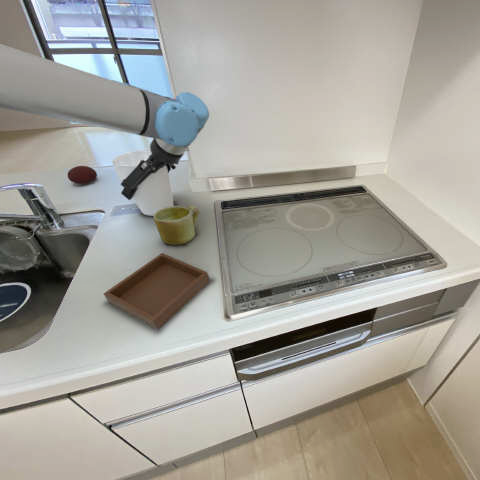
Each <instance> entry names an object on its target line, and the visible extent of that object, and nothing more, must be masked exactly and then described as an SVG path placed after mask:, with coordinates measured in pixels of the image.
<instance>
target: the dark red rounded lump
mask: <svg viewBox="0 0 480 480" xmlns="http://www.w3.org/2000/svg"><path fill="white" fill-rule="evenodd" d="M97 177H98V173H97V171H96V170H95V169H94V168H92V167H90V166H88V165H77V166H74V167H72V168H71V169H69V170H68V172H67V179H68V180H69V181H70V182H71V183H74V184H78V185H85V184H90V183H92V182H94V181H96V179H97Z"/></svg>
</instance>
